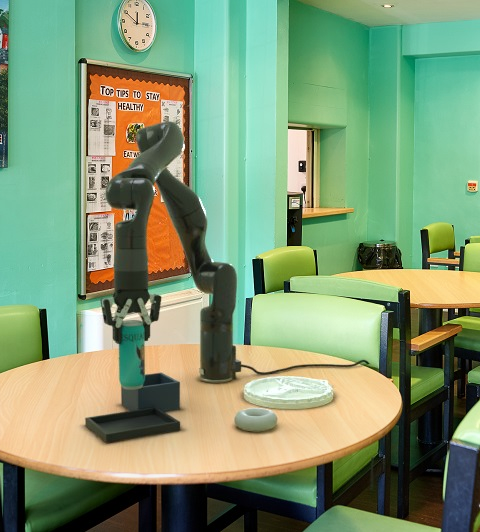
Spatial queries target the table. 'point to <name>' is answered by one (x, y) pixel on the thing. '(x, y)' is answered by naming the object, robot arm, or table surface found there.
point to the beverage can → (132, 355)
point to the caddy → (153, 394)
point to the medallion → (288, 392)
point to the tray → (131, 424)
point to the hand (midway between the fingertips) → (131, 341)
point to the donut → (255, 419)
